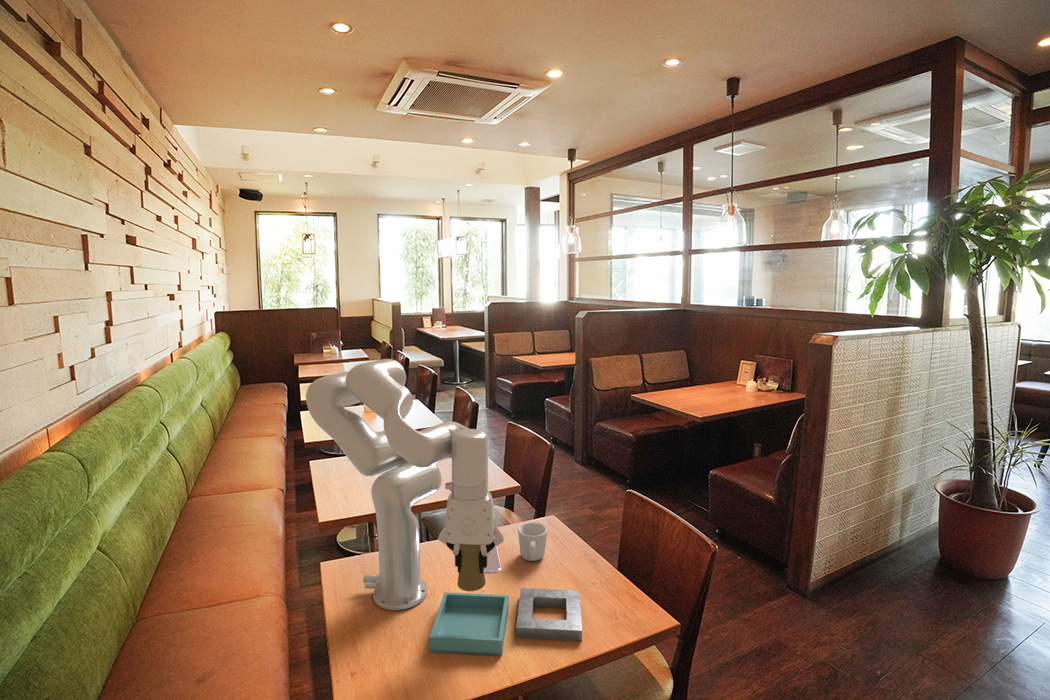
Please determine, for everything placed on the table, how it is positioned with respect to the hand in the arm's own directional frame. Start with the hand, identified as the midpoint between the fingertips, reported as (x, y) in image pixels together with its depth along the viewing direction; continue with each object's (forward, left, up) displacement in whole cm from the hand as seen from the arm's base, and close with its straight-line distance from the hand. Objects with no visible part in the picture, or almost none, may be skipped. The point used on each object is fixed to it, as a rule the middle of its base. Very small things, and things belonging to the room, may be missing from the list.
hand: (471, 568), depth 114 cm
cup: (+12, +29, -15) cm, 35 cm away
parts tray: (0, 0, -14) cm, 14 cm away
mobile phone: (-1, +29, -15) cm, 33 cm away
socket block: (+17, +5, -14) cm, 23 cm away
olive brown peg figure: (0, 0, -3) cm, 3 cm away
